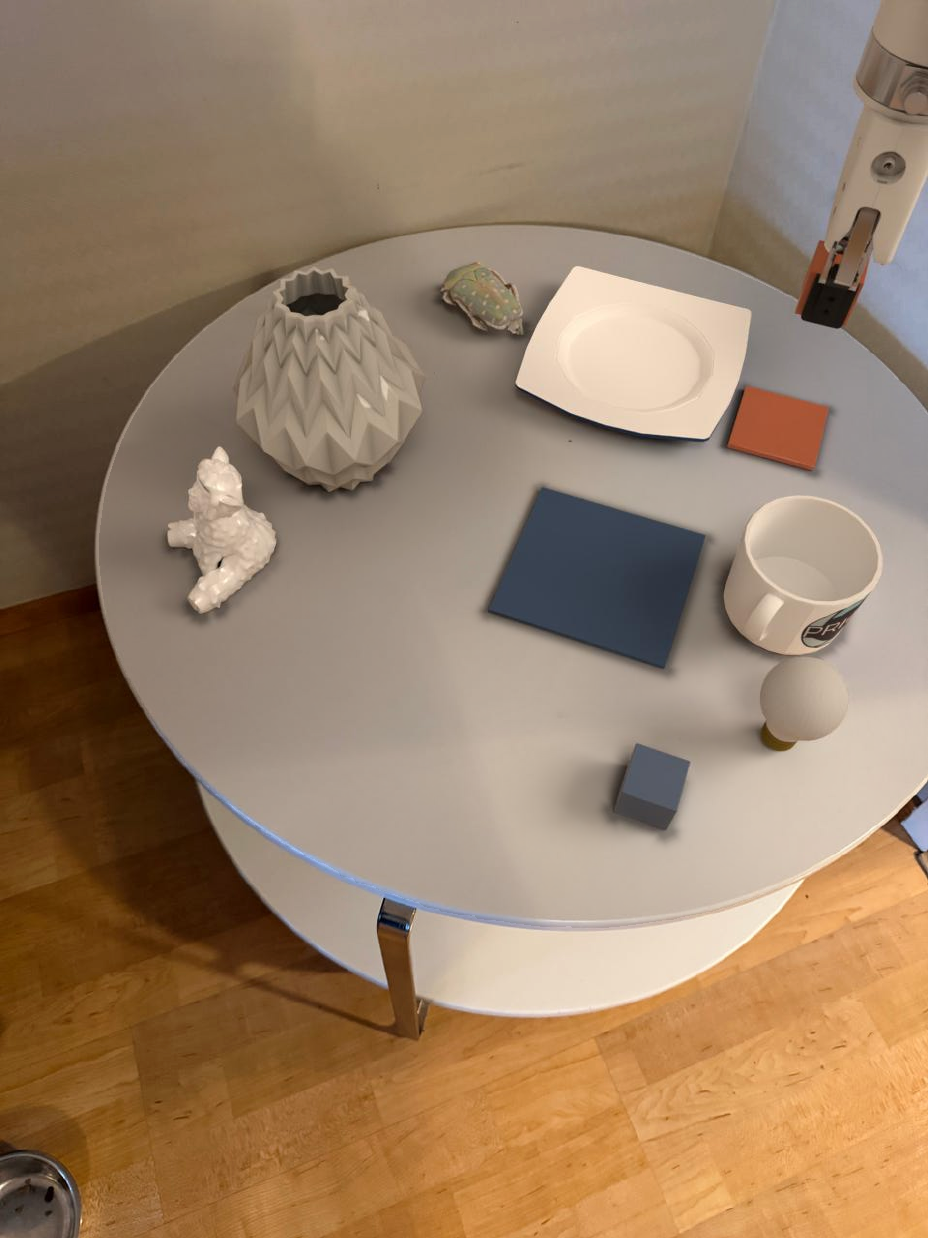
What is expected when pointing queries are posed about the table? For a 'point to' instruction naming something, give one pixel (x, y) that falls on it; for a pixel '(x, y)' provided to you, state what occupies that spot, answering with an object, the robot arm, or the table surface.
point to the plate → (636, 357)
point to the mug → (800, 574)
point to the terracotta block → (816, 268)
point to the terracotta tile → (778, 427)
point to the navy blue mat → (600, 576)
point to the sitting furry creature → (222, 533)
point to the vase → (327, 383)
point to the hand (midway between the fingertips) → (826, 300)
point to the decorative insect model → (484, 297)
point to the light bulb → (801, 702)
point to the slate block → (652, 786)
